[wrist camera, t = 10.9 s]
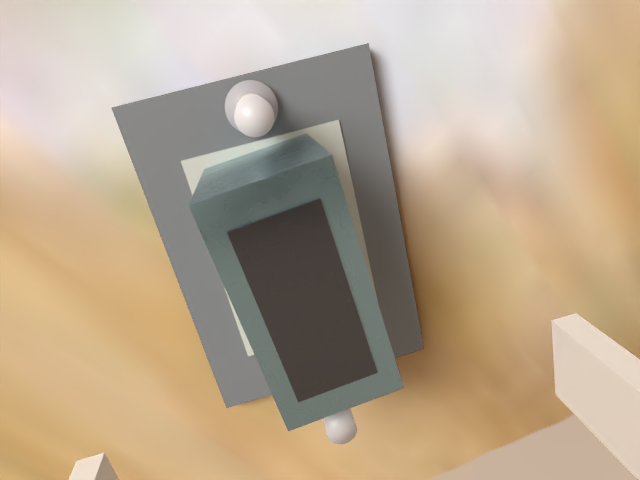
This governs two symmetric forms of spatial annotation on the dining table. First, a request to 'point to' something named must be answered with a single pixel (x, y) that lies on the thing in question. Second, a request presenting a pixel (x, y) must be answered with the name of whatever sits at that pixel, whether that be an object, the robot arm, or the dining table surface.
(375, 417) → the dining table surface
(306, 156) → the block
